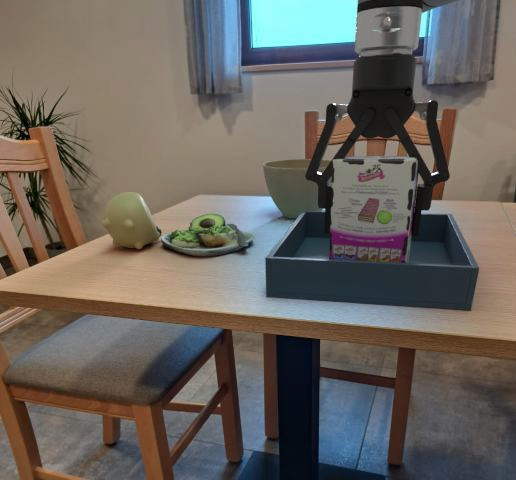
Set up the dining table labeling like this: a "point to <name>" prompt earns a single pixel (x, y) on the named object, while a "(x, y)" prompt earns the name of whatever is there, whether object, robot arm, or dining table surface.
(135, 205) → the toy pig
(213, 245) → the salad plate
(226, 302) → the dining table surface
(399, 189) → the candy bar box
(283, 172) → the flower pot
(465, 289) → the bin
